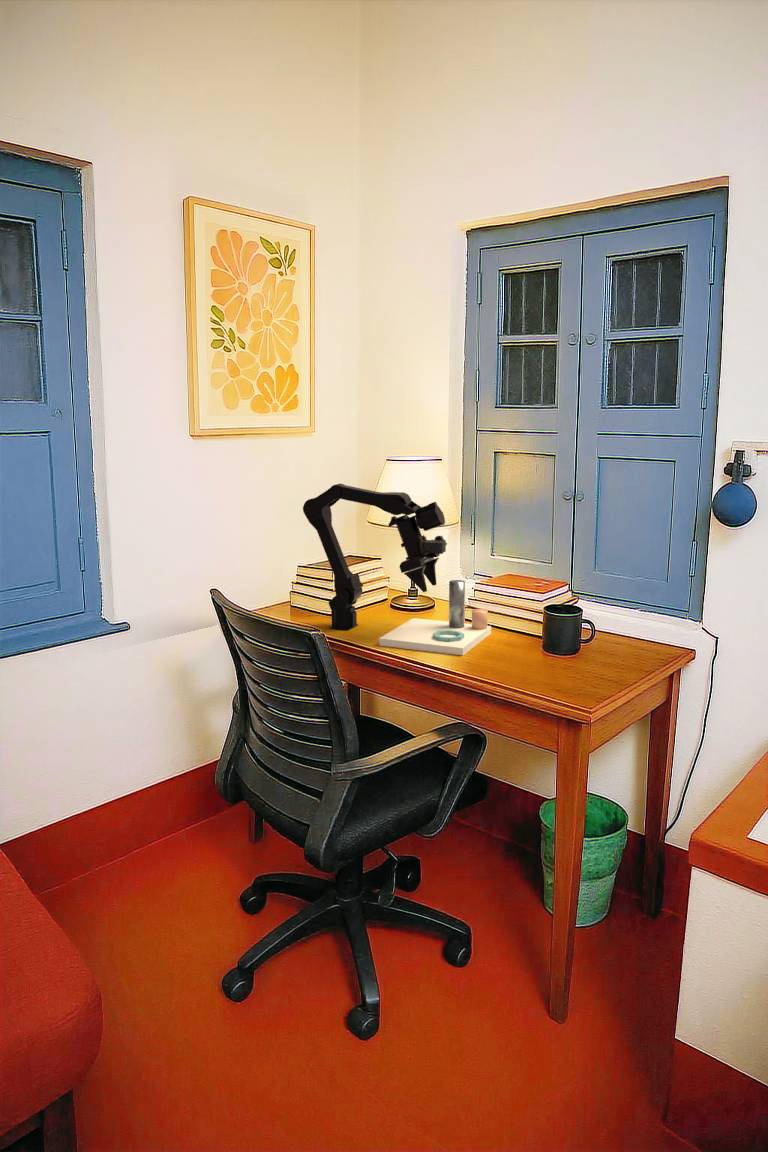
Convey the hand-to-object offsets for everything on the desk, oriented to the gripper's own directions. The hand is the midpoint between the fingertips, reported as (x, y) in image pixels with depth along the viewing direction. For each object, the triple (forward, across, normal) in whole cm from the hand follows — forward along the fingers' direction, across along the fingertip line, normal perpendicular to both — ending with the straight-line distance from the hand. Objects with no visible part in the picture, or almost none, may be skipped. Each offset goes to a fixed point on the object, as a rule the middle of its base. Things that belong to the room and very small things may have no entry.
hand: (430, 588), depth 247 cm
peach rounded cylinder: (+15, +4, -9) cm, 18 cm away
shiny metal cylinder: (+13, +3, -2) cm, 14 cm away
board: (+14, -5, +2) cm, 14 cm away
